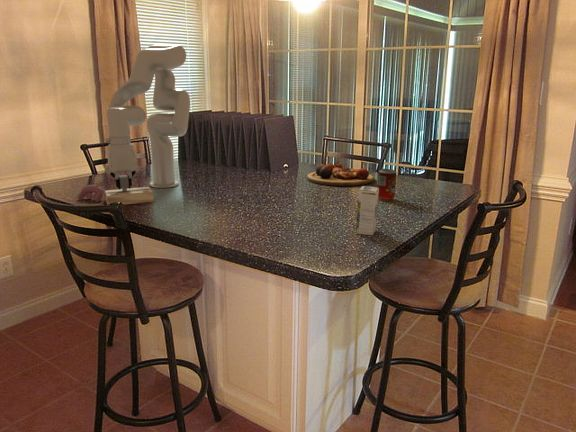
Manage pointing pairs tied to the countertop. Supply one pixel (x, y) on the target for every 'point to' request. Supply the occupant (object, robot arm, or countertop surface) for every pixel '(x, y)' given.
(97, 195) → the pink domed lump
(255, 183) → the countertop surface
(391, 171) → the soda can
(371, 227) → the syrup box
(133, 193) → the fader board
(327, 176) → the wooden plate with food
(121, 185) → the fader knob
